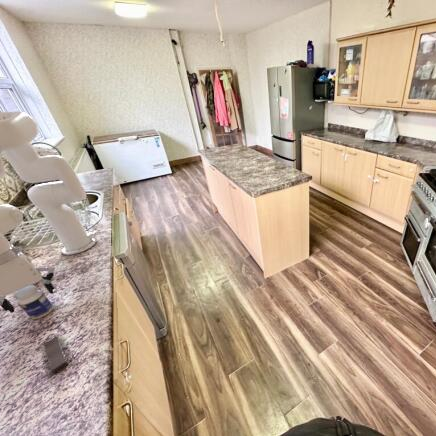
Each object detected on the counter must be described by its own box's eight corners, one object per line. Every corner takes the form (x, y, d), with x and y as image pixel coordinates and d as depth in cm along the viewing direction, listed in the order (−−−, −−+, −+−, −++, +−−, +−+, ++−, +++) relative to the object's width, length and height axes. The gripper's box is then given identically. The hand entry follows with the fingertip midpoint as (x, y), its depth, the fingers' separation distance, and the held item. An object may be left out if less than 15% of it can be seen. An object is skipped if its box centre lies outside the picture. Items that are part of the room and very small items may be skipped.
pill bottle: (26, 322, 74) (6, 300, 69) (36, 308, 79) (18, 287, 74) (49, 315, 76) (31, 293, 71) (57, 303, 80) (40, 281, 76)
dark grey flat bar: (45, 346, 66) (43, 343, 66) (59, 338, 68) (57, 335, 68) (53, 373, 59) (51, 371, 59) (68, 364, 61) (66, 361, 61)
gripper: (36, 239, 74) (65, 280, 82) (-51, 269, 63) (-8, 313, 71) (40, 247, 70) (70, 289, 78) (-53, 281, 58) (-7, 326, 67)
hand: (33, 300), depth 74 cm, fingers open, 8 cm apart
